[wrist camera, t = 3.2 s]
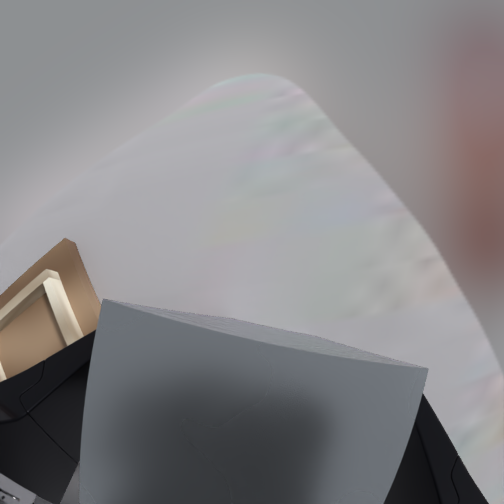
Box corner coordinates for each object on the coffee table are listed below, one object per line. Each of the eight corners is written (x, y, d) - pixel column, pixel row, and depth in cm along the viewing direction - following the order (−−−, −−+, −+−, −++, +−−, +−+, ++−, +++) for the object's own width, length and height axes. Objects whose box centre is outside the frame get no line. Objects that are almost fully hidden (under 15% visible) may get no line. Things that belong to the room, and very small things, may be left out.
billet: (296, 416, 15) (330, 594, 3) (213, 398, 16) (80, 530, 3) (316, 336, 16) (428, 368, 4) (231, 318, 17) (103, 298, 4)
